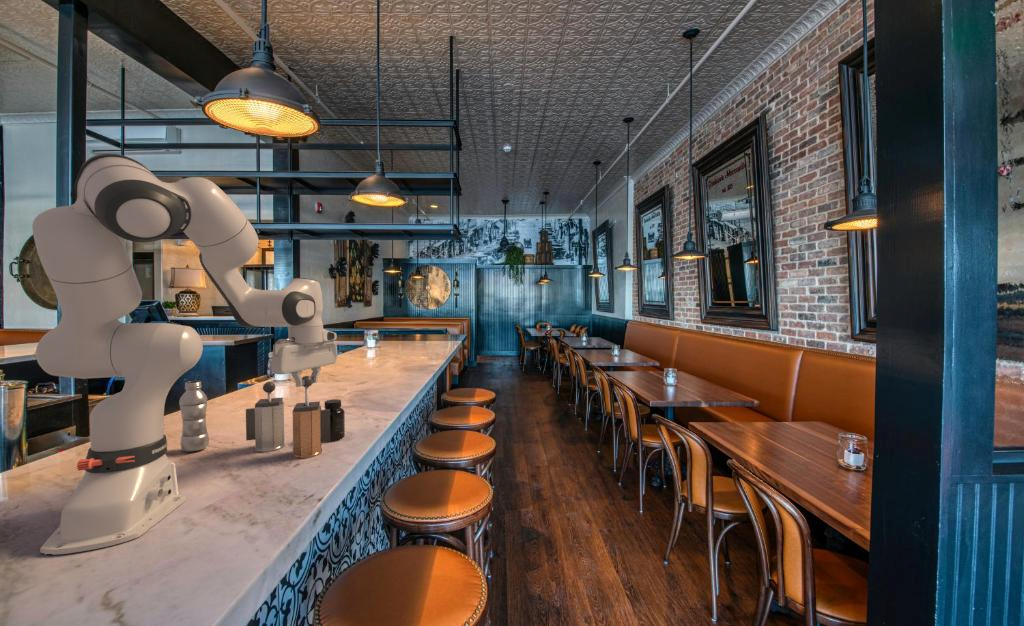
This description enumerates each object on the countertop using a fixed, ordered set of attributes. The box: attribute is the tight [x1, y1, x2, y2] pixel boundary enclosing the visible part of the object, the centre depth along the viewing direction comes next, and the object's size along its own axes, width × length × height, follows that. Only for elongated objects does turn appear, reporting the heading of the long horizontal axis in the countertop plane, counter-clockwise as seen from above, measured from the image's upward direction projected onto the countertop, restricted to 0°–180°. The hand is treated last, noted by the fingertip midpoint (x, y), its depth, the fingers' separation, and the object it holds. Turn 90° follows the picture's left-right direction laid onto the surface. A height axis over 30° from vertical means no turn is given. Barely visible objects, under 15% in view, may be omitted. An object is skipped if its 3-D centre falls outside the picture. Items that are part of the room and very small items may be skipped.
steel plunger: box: [262, 381, 276, 401], centre depth 119 cm, size 3×3×15 cm
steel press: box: [245, 397, 286, 453], centre depth 119 cm, size 10×7×14 cm
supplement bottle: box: [323, 398, 346, 443], centre depth 127 cm, size 7×7×12 cm
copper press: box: [292, 401, 330, 460], centre depth 115 cm, size 10×7×14 cm
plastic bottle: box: [178, 380, 210, 453], centre depth 117 cm, size 6×7×20 cm
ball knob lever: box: [301, 375, 314, 406], centre depth 115 cm, size 3×3×15 cm
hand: (306, 384), depth 114 cm, fingers closed on ball knob lever, 3 cm apart
